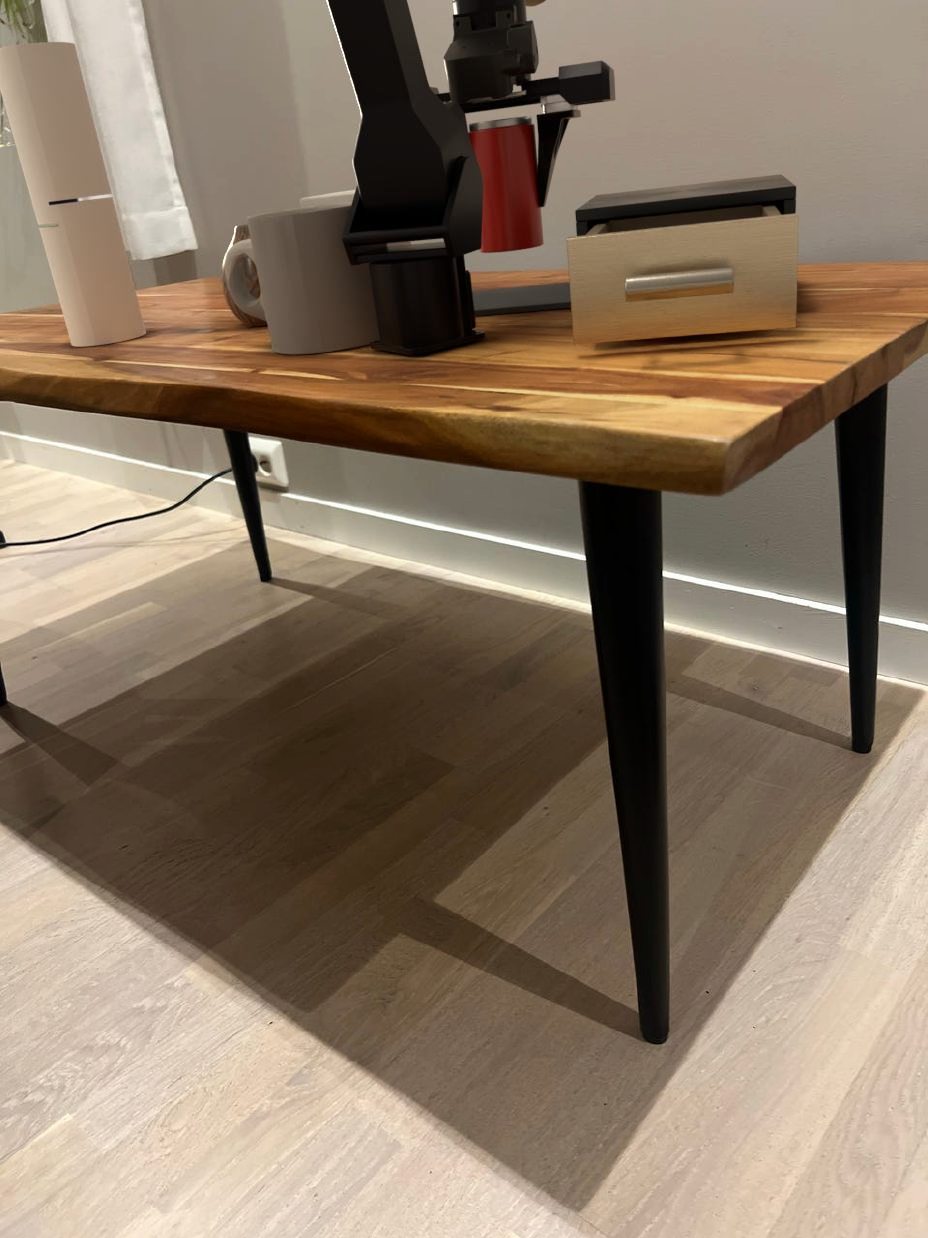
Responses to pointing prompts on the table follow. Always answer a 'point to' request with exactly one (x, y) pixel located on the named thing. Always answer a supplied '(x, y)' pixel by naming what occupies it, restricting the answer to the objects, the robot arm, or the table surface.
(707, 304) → the drawer
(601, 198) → the cabinet
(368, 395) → the table surface
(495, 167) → the can
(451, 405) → the table surface
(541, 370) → the table surface
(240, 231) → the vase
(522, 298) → the mat
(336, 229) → the coffee mug
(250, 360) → the table surface
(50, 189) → the cylindrical container
